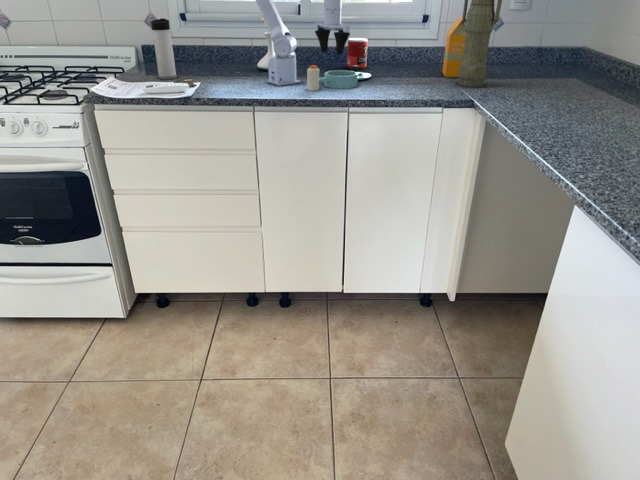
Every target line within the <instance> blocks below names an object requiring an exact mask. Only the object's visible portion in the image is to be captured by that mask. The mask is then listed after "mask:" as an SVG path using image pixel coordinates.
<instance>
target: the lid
mask: <svg viewBox="0 0 640 480" xmlns="http://www.w3.org/2000/svg"><path fill="white" fill-rule="evenodd" d="M358 70H359V69H358V66H356V65H352V66H351V69H350V71H354V72H359V73H362V76H358V81H363V80H368V79H371V78H372V74H371V73H368V72H364V71H363V72H362V71H358Z"/></svg>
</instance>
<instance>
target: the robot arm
mask: <svg viewBox="0 0 640 480" xmlns="http://www.w3.org/2000/svg"><path fill="white" fill-rule="evenodd" d="M255 2H256V5H257V6H258V8H259V11H260V14H261V13H262V15H263V17H264V19H265V21H266V22H265V23H266V24H267V25H268V27H267V28H268V29H269V32H271V39H272V41H273V48H274V52H275V57H274V58H271V59H270V60H269V63H268V70H267V71H268V80H267V82H268V83H270V84H273V85H276V86H280V87H281V86H287V85H294V84H299V83H300V84H301V83H302V80H299V79H297V54H296V52H295V51H296V49H297V47H298V42H297V39H296V37H295V36H294V35H292V34H291V32H290V30H289V28H288V27H287V26H286V25H285V24H284V22H283V20H282V18H281V15H280V13H279V11H278V8H277V7H275V5H274V0H255ZM276 8H277V9H276ZM315 29H316V30H314V34H315V35H316V37H317V40H318V43H319V46H320V51H321V53H328V50H329V49H328V47H329V38H330V33H331V31H334V32H333V35H334V39H335V49H336V50H335V52H336V55H337V56H341V55H343V53H344V49H345V46H346V43H347V42H348V39H349V37H350V36H351V32H350V31H351V26H350V25H349V24H343V22H342V0H323V22H321V21H319V22H315Z"/></svg>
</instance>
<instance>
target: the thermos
mask: <svg viewBox="0 0 640 480" xmlns="http://www.w3.org/2000/svg"><path fill="white" fill-rule="evenodd" d="M495 1H496V0H470V5H469V0H464V5H463V11H462V19H463V21H462V22H464V23H465V25H466V26H465V32H466V37H465V44H464V52H463V59H462V63H461V65H460V69H459V77H458V82H457V85H458V86H459V87H463V88H473V89H474V88H482V87H484V83H485V79H486V75H487V57H488V51H489V46H490V38H491V34H492V32H493V31H494V25H496V24H497V23H498V22H499V19H500V13H501V8H502V3H503V0H497V3H496V8H495ZM468 5H469V8H468ZM495 9H496V10H495Z"/></svg>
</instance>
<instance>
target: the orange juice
mask: <svg viewBox="0 0 640 480" xmlns="http://www.w3.org/2000/svg"><path fill="white" fill-rule="evenodd" d="M462 21H463V17H458V18H457V19H456V21H455V22H454V23H453V24H452V26H451V27H450V28H449V30H447V32H446V39H445V47H444V55H443V65H442V74H443V76H444V77H445V78H459V69H460V65H461V63H462V59H463V52H464V44H465V37H466V32H465V26H466V24H465V22H462Z"/></svg>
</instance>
